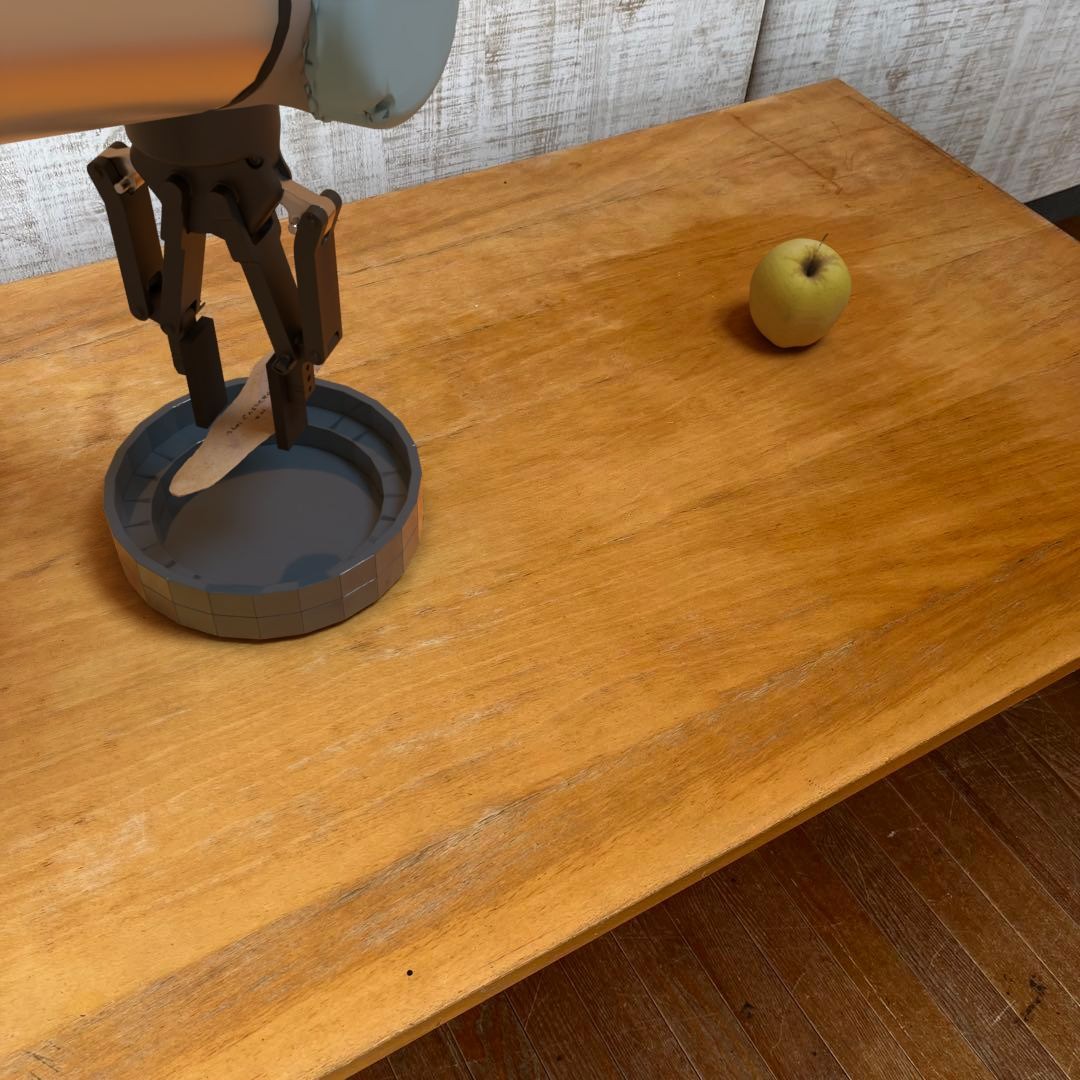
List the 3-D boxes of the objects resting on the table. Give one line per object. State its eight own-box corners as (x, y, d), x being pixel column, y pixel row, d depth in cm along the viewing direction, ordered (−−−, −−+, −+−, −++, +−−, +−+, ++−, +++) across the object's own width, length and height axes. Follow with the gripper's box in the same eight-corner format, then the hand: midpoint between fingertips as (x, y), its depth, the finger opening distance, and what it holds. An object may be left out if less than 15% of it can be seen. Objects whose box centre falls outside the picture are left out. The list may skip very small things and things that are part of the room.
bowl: (349, 682, 72) (343, 632, 69) (58, 593, 76) (38, 541, 72) (464, 467, 86) (464, 415, 82) (212, 399, 89) (202, 347, 85)
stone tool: (220, 517, 67) (349, 358, 76) (209, 498, 66) (341, 339, 75) (153, 506, 70) (286, 352, 78) (141, 486, 69) (277, 333, 77)
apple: (748, 280, 102) (805, 193, 94) (825, 330, 101) (889, 247, 93) (714, 328, 97) (772, 241, 89) (795, 382, 96) (860, 298, 89)
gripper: (-20, 52, 55) (91, 427, 72) (332, 130, 52) (360, 502, 69) (71, -8, 59) (155, 356, 77) (398, 60, 57) (409, 422, 74)
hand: (252, 424), depth 73 cm, fingers closed on stone tool, 5 cm apart
